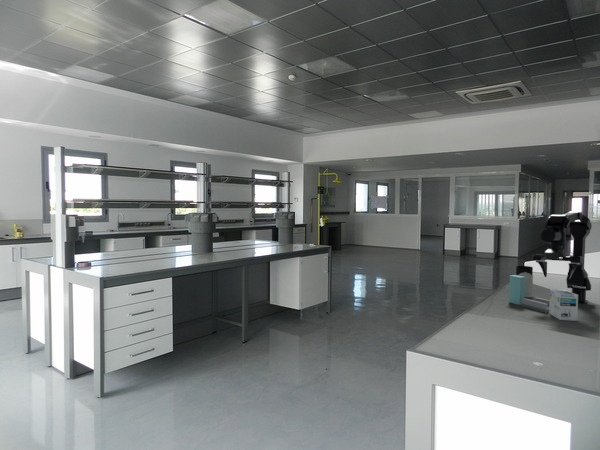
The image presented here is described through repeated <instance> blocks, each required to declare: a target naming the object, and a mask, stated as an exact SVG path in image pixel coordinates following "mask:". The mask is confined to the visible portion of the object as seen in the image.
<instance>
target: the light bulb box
mask: <svg viewBox="0 0 600 450" xmlns="http://www.w3.org/2000/svg"><path fill="white" fill-rule="evenodd" d="M549 300H550V304H549V312H548V314H549V315H551V316H553V317H555V318H556V319H558V320H560V321H571V322H572V321H573V322H577V321H578V318H579V317H578V316H579V315H578V310H579V302H578V295H577V294H574V293H572V291H569V290H567V289H556V288H555V289H554V288H549Z"/></svg>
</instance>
